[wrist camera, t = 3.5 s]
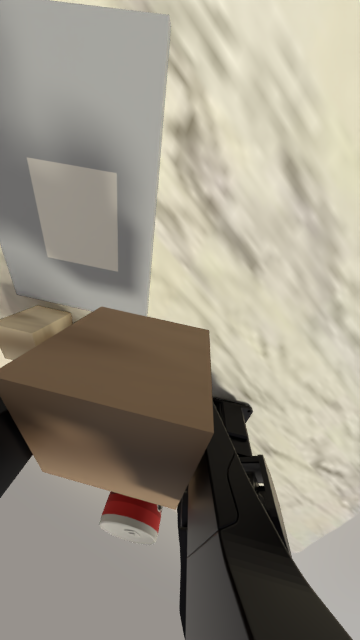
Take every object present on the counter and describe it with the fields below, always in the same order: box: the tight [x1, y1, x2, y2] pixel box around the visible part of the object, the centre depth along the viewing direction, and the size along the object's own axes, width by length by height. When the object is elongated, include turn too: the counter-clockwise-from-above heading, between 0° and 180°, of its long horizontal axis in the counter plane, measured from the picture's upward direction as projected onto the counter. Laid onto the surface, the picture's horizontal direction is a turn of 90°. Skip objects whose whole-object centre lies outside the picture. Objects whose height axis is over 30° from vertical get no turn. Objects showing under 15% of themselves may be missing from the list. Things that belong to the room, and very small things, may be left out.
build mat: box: [0, 0, 171, 316], centre depth 14 cm, size 20×16×1 cm
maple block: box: [0, 305, 73, 360], centre depth 18 cm, size 4×4×5 cm
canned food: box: [99, 491, 162, 545], centre depth 25 cm, size 8×8×11 cm
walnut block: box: [0, 306, 214, 510], centre depth 8 cm, size 6×6×5 cm
